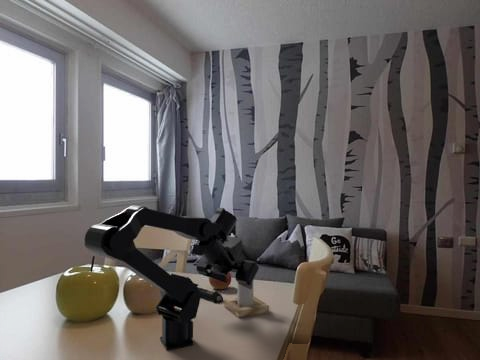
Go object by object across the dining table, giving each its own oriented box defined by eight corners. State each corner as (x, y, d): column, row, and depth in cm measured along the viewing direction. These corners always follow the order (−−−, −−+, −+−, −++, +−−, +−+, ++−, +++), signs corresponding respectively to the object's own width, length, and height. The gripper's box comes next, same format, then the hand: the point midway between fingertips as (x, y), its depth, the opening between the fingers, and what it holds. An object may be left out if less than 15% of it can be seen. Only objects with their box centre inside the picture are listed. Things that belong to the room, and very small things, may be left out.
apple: (207, 285, 131) (207, 263, 131) (229, 284, 133) (229, 263, 132) (209, 292, 123) (210, 269, 123) (232, 291, 125) (233, 268, 125)
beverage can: (241, 312, 104) (242, 271, 104) (234, 307, 109) (234, 267, 109) (256, 309, 107) (256, 269, 107) (248, 304, 111) (248, 265, 111)
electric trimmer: (191, 291, 125) (191, 282, 125) (224, 301, 115) (224, 291, 115) (183, 294, 122) (183, 285, 122) (216, 304, 112) (216, 294, 112)
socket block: (238, 318, 101) (238, 310, 101) (223, 306, 110) (224, 299, 110) (269, 312, 106) (269, 305, 105) (252, 301, 114) (252, 295, 114)
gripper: (255, 232, 95) (276, 267, 104) (204, 225, 106) (226, 257, 115) (236, 267, 89) (260, 301, 97) (183, 256, 100) (209, 287, 109)
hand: (238, 284), depth 105 cm, fingers open, 9 cm apart
